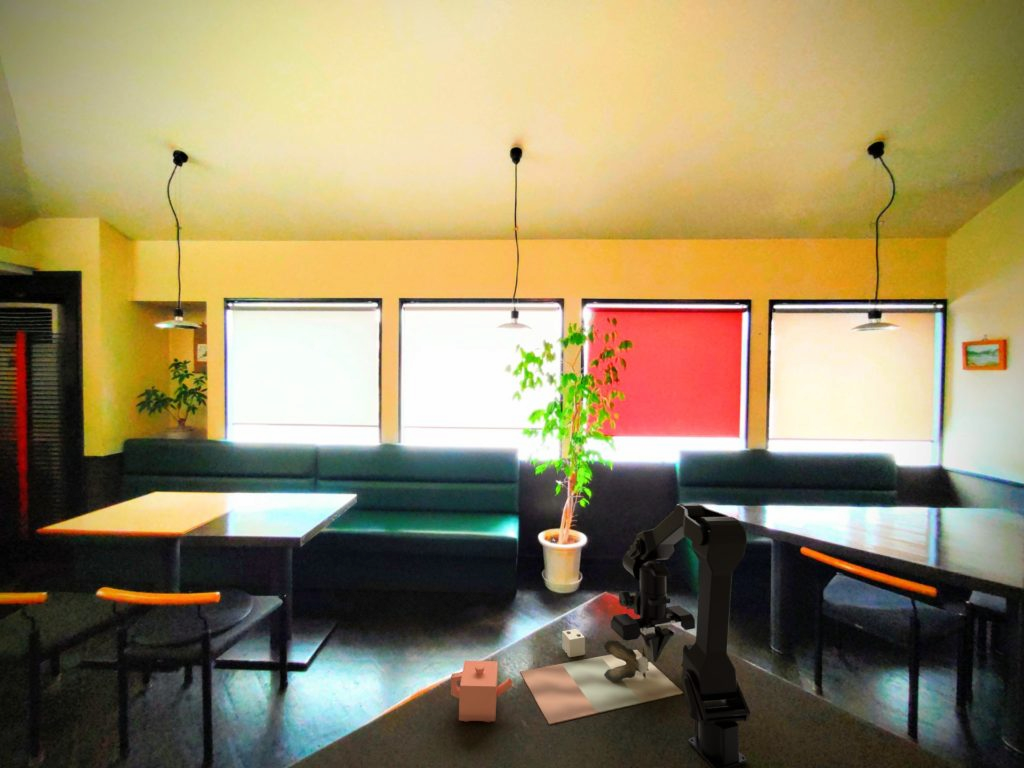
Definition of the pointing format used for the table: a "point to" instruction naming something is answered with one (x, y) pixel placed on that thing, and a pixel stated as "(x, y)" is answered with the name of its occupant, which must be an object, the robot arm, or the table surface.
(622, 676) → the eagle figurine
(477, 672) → the pink cube teapot
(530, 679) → the game mat
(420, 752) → the table surface
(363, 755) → the table surface
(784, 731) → the table surface
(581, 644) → the die
